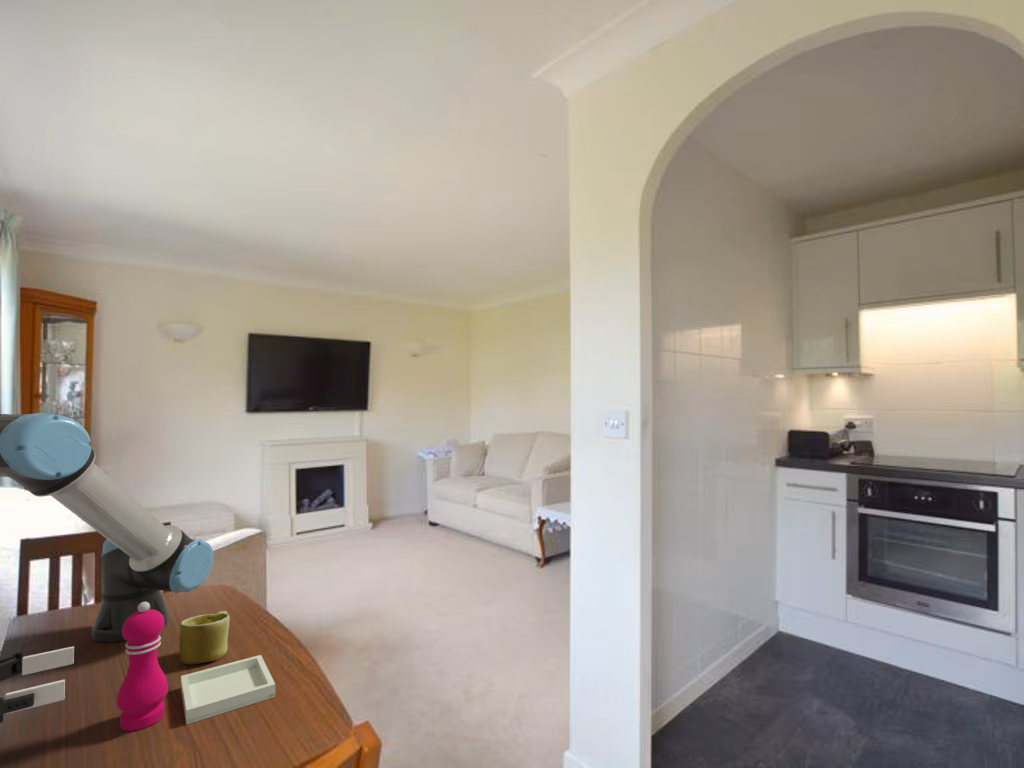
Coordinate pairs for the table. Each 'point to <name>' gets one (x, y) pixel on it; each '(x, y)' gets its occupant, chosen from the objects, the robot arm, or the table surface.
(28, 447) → the robot arm
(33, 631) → the table surface
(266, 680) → the tray
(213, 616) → the mug
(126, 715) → the pepper mill
